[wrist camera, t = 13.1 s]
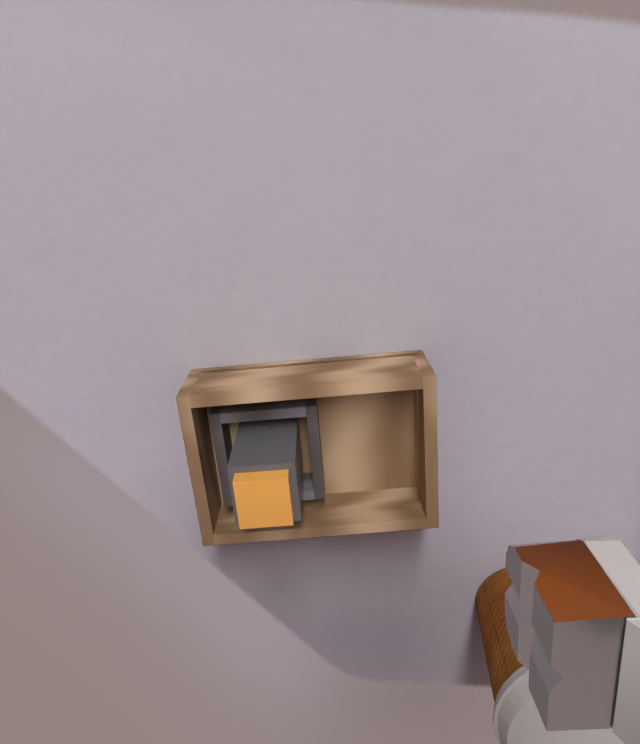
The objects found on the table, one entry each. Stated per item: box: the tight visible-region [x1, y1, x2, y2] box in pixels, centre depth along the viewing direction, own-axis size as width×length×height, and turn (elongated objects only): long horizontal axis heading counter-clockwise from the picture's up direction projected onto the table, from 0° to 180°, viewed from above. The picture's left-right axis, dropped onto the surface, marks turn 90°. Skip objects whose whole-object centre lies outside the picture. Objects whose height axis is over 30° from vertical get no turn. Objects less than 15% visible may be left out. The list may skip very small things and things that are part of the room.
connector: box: [227, 417, 303, 529], centre depth 38 cm, size 4×4×8 cm
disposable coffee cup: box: [476, 569, 625, 744], centre depth 42 cm, size 10×10×12 cm
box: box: [176, 350, 439, 546], centre depth 40 cm, size 16×11×5 cm
